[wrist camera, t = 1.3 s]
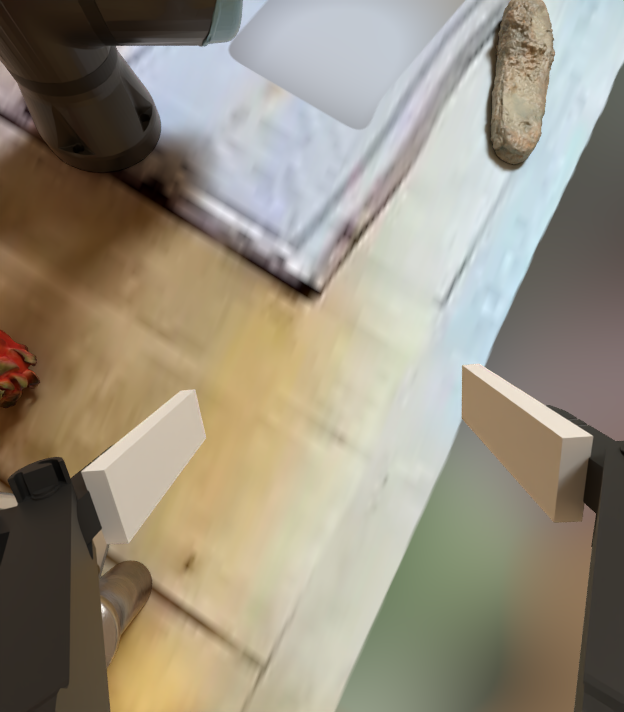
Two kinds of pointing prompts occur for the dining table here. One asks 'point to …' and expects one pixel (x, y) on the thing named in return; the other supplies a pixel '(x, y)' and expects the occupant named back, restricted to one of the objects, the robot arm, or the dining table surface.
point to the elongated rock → (521, 79)
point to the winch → (122, 600)
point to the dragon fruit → (15, 370)
